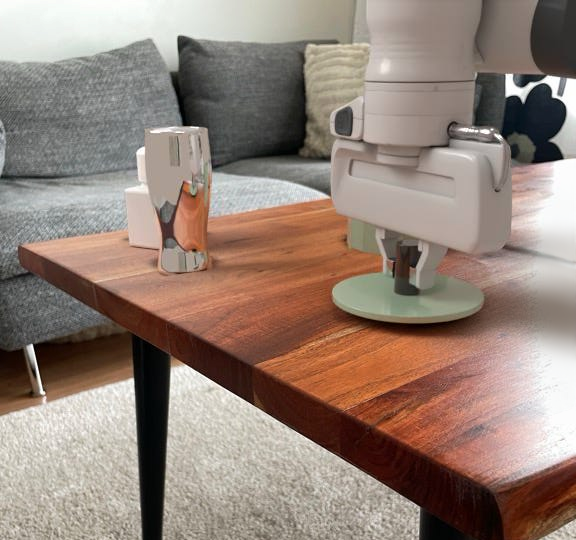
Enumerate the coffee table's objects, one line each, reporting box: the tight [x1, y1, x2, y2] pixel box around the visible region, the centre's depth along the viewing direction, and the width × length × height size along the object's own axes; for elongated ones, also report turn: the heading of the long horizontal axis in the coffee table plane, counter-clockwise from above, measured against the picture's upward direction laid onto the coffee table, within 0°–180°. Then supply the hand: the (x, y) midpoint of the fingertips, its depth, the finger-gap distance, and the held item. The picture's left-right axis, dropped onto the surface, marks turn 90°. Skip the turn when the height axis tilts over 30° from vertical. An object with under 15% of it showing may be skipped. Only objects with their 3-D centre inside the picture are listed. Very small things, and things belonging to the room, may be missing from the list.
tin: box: [346, 217, 450, 256], centre depth 88 cm, size 13×13×10 cm
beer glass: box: [143, 125, 213, 277], centre depth 78 cm, size 7×7×15 cm
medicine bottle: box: [123, 145, 159, 250], centre depth 90 cm, size 7×7×12 cm
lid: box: [331, 240, 485, 324], centre depth 65 cm, size 14×14×6 cm
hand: (407, 281), depth 65 cm, fingers closed on lid, 2 cm apart
